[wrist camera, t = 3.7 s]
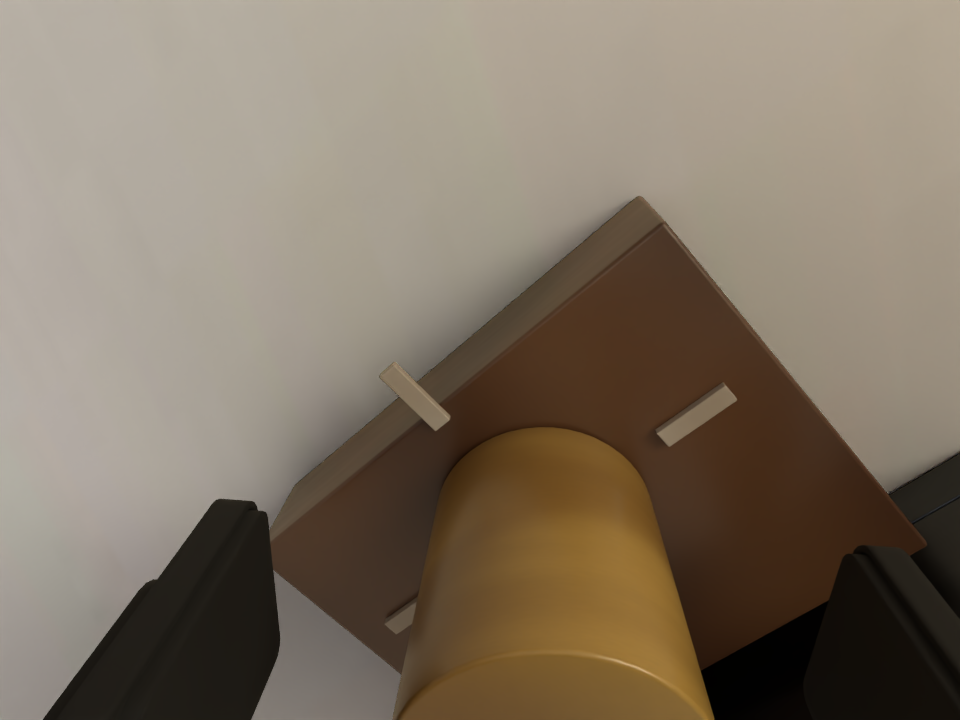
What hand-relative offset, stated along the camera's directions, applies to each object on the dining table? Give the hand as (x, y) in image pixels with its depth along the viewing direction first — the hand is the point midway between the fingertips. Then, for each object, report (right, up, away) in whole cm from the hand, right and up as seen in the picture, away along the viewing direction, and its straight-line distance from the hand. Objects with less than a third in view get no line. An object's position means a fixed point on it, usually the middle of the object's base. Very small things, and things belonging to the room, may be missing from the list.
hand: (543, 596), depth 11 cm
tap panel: (+1, +1, +4) cm, 5 cm away
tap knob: (0, +1, +2) cm, 2 cm away
